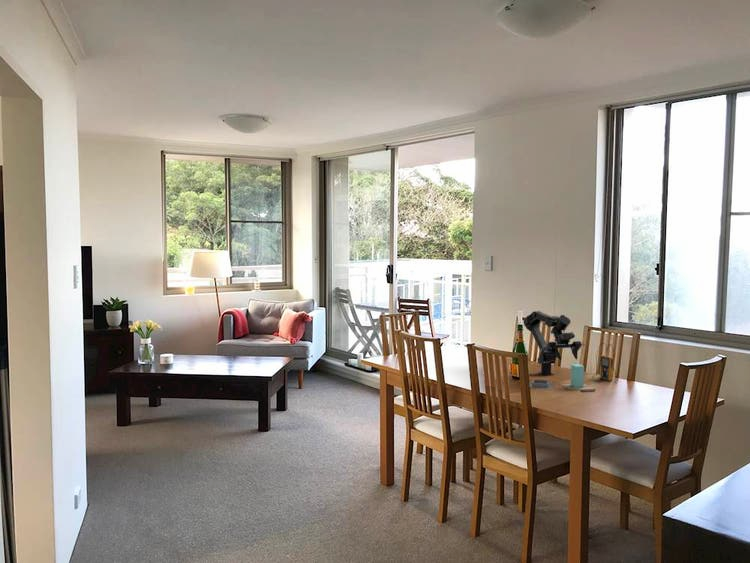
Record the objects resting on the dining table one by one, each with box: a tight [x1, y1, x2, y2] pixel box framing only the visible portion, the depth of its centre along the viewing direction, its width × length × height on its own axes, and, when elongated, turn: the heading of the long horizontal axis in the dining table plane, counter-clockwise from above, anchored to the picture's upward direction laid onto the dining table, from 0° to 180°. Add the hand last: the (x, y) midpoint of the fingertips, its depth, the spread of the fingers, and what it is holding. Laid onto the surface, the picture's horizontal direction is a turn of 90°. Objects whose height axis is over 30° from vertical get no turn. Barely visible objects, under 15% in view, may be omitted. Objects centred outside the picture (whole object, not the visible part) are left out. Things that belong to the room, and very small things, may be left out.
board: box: [559, 382, 596, 393], centre depth 304 cm, size 13×13×1 cm
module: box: [570, 363, 585, 388], centre depth 304 cm, size 5×4×11 cm
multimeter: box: [592, 342, 619, 383], centre depth 323 cm, size 15×10×20 cm
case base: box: [529, 378, 553, 390], centre depth 307 cm, size 14×11×3 cm
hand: (568, 359), depth 313 cm, fingers open, 9 cm apart
